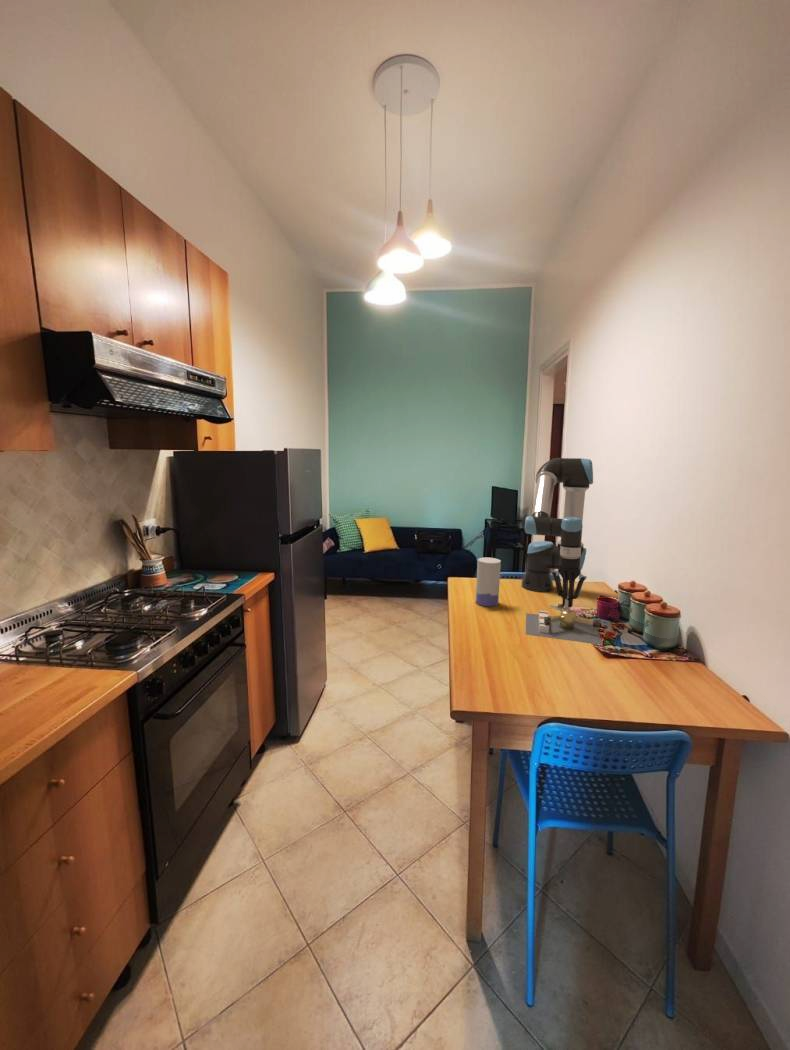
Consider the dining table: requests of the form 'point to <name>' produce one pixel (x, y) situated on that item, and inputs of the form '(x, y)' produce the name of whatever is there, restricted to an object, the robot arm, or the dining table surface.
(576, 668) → the dining table surface
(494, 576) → the container
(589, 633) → the stand
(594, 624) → the gold quadcopter drone
